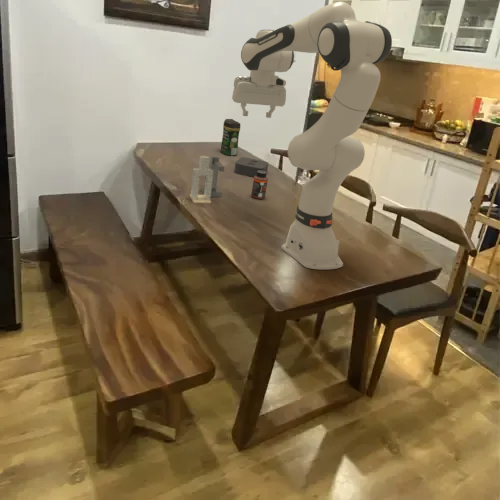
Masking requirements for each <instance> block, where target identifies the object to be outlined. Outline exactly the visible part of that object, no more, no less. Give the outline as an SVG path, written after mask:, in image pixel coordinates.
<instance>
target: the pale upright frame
mask: <svg viewBox="0 0 500 500" xmlns="http://www.w3.org/2000/svg"><path fill="white" fill-rule="evenodd" d="M209 165H210V156H207V155H200V156H199V162H198V167H196V168H195V167H193V168H192V176H191V177H192V178H191V188H190V189H191V191H190V195H191V198H192V199H195V200H197V197H198V195H199V185H200V176H205V182H204V186H205V189H204V194H203V195H204V198H205V200H210V201H211V198H212V197H211V189H212V180H213V170H212V169H209ZM191 198H190V199H191ZM192 199H191V200H192Z"/></svg>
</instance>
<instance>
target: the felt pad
mask: <svg viewBox="0 0 500 500" xmlns="http://www.w3.org/2000/svg"><path fill="white" fill-rule="evenodd" d="M190 197H191V194H189V198H190ZM190 199H191V200H192V203H194V204H212V201H211V199H210V200H205V198H204V194H198V197H197V200H195V199H192V198H190Z"/></svg>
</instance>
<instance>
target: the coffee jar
mask: <svg viewBox="0 0 500 500" xmlns="http://www.w3.org/2000/svg"><path fill="white" fill-rule="evenodd" d="M222 127H223V130H222V139H221V145H220V152H221V153H222V154H223V155H226V156H230V157H234V156H237V155H238V146H239V136H240V131H241V122H239V121H236V120H235V119H233V118H225V119H224V121H223V126H222Z"/></svg>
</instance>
